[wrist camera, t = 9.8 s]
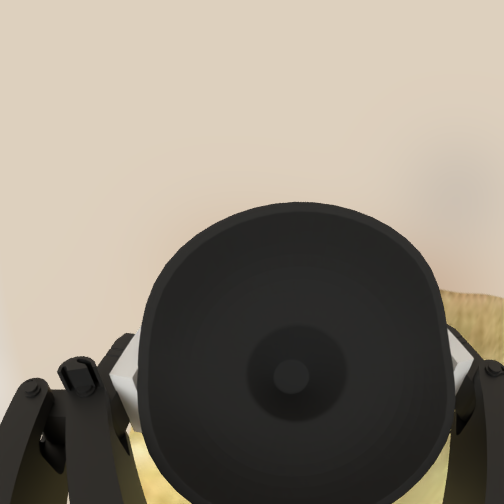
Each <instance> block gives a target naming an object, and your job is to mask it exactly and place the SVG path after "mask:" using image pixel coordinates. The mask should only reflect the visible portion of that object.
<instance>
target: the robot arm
mask: <svg viewBox="0 0 504 504" xmlns="http://www.w3.org/2000/svg"><path fill="white" fill-rule="evenodd" d="M447 329H448V337H449V344H450V350H451V357H452V363H453V371H454V379H455V412H454V419H453V423H452V427H451V431H450V433H451V440H450V453H449V464H448V472H447V480H446V486H445V493H444V498H443V503H442V504H504V366H503V365H502V364H501V363H499V362H497V361H494V360H483V359H482V358H481V357H480V355H479V354H478V353H477V352H476V351H475V350H474V349H473V348H472V346H471V345H470V344H469V343H467V341H466V340H465V339H464V338H463V337H462V336H461V335H460V333H459V332H458V331H457V330H456V329H454V328H453V327H451V326H449V325H448V324H447ZM140 332H141V326H140V328H139V329H138V331H137V332H136V334H130V333H126V334H124V335H123V336H121V337H120V338H118V339H117V340H116V341H115V342H114V344H113V345H112V347H111V349H110V350H109V351H108V353H107V354H106V356H105V357H104V358H103V359H102V361H101V362H100V364H99V365H98V366H96V364H95V361H93V360H92V359H91V358H88V357H84V356H83V357H82V356H80V357H74V358H70V359H68V360H67V361H65V362H63V364H61V365H60V367H59V369H58V371H57V373H58V375H59V377H60V379H61V381H62V383H63V385H64V387H65V389H66V390H51V389H50V387H49V385H48V383H47V382H46V381H45V380H44V379H41V378H32V379H29V380H26V381H25V382H23V383H22V384H21V385H20V387H19V388H18V390H17V392H16V393H15V395H14V397H13V399H12V401H11V403H10V405H9V407H8V409H7V412H6V413H5V416H4V418H3V420H2V422H1V424H0V504H67V497H68V492H69V500H70V504H147V502H146V499H145V496H144V493H143V490H142V486H141V483H140V480H139V476H138V472H137V469H136V465H135V461H134V457H133V453H132V448H131V444H130V439H129V436H128V434H127V432H126V428H127V426H128V424H129V422H130V423H131V425H132V427H133V429H134V431H136V432H141V433H142V430H141V425H140V419H139V413H138V399H137V376H138V349H139V340H140ZM41 435H43V436H42V439H41V440H40V438H41Z"/></svg>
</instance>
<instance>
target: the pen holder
mask: <svg viewBox="0 0 504 504" xmlns="http://www.w3.org/2000/svg"><path fill="white" fill-rule="evenodd" d="M137 399H138V413H139V419H140V425H141V430H142V434H143V437H144V440H145V443H146V446H147V449H148V452H149V454H150V456H151V458H152V459H153V461H154V463H155V464H156V466H157V468H158V469H159V471H160V473H161V474H162V475H163V477H164V478H165V479H166V480H167V481H168V482H169V483H170V484H171V486H172V487H173V488H174V489H175V490H176V491H177V492H178V493H179V494H180V495H182V496H183V497H184V498H185V499H187V500H188V501H189V502H191V503H192V504H392V503H393V502H395V501H396V500H397V499H399V498H400V497H402V496H403V495H404V494H405V493H407V492H408V491H409V490H410V489H411V488H412V487H413V486H414V485H415V484H416V483H417V482H418V481H419V480H420V479H421V478H422V477H423V476H424V475H425V474H426V472H427V471H428V470H429V469H430V467H431V466H432V465H433V464H434V462H435V461H436V459H437V457H438V456H439V454H440V452H441V450H442V449H443V447H444V445H445V443H446V441H447V438H448V435H449V433H450V430H451V427H452V423H453V419H454V410H455V379H454V371H453V363H452V357H451V350H450V344H449V337H448V329H447V323H446V317H445V311H444V306H443V302H442V298H441V294H440V290H439V287H438V285H437V282H436V279H435V277H434V275H433V272H432V270H431V268H430V267H429V265H428V264H427V262H426V261H425V259H424V258H423V256H422V255H421V253H420V252H419V251H418V250H417V249H416V248H415V247H414V246H413V245H412V244H411V243H410V242H409V241H408V240H407V239H406V238H405V237H403V236H402V235H401V234H399V233H398V232H397V231H395V230H394V229H392V228H391V227H389V226H388V225H386V224H384V223H382V222H380V221H378V220H376V219H375V218H373V217H370V216H367V215H365V214H362V213H360V212H357V211H355V210H351V209H347V208H343V207H339V206H335V205H329V204H321V203H313V202H289V203H278V204H271V205H266V206H261V207H256V208H253V209H249V210H247V211H243V212H240V213H237V214H234V215H232V216H230V217H228V218H226V219H224V220H221V221H219V222H217V223H215V224H213V225H212V226H210V227H208V228H207V229H205V230H204V231H202V232H200V233H199V234H197V235H196V236H195V237H193V238H192V239H191V240H190V241H188V242H187V243H186V244H185V245H184V246H182V247H181V248H180V249H179V250H178V251H177V253H176V254H175V255H174V256H173V257H172V258H171V259H170V260H169V262H168V263H167V264H166V265H165V267H164V269H163V270H162V272H161V273H160V275H159V276H158V278H157V280H156V282H155V283H154V285H153V288H152V290H151V293H150V296H149V298H148V301H147V304H146V307H145V311H144V316H143V321H142V325H141V332H140V340H139V349H138V376H137Z"/></svg>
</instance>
